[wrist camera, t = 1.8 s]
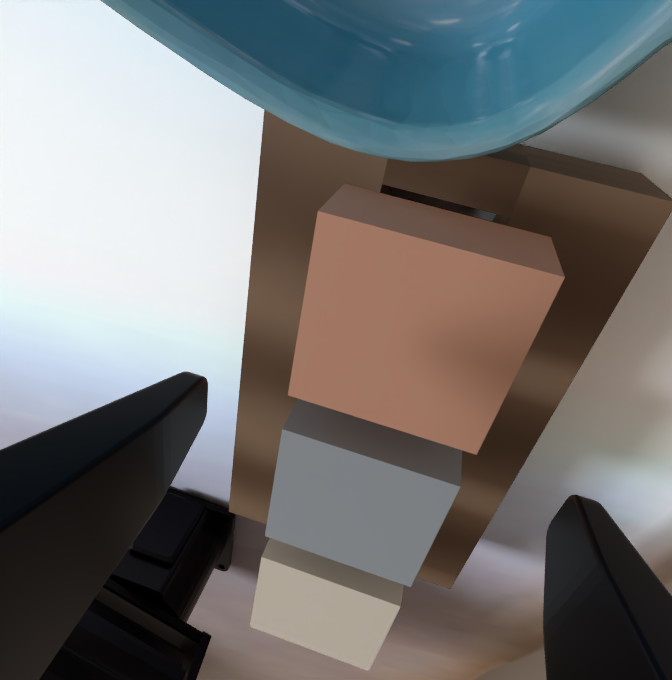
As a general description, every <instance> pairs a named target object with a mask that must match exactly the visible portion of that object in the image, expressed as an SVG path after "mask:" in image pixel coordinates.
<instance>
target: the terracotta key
mask: <svg viewBox="0 0 672 680" xmlns="http://www.w3.org/2000/svg"><path fill="white" fill-rule="evenodd" d="M564 278H565V276H564V273H563V270H562V268H561V265H560V262H559V259H558V256H557V253H556V251H555V248H554V245H553V242H552V239H551V237H548V236H544V235H540V234H537V233H533V232H529V231H525V230H521V229H517V228H513V227H510V226H506V225H502V224H498V223H494V222H490V221H487V220H483V219H479V218H475V217H471V216H467V215H464V214H460V213H456V212H452V211H448V210H444V209H440V208H437V207H433V206H429V205H425V204H421V203H417V202H414V201H410V200H406V199H402V198H398V197H394V196H391V195H387V194H383V193H379V192H375V191H371V190H368V189H364V188H360V187H356V186H352V185H348V184H343V185H342V186H341V188H340V189H339V190H338V191H337V192H336V193H335V194H334V195H333V196H332V197H331V198H330V199H329V200H328V201H327V202H326V203H325V204H324V205H323V206H322V207H321V208H320V209H319V210H318V213H317V219H316V225H315V231H314V238H313V244H312V250H311V256H310V262H309V268H308V274H307V280H306V287H305V293H304V299H303V305H302V311H301V317H300V323H299V329H298V335H297V342H296V348H295V354H294V360H293V366H292V372H291V378H290V384H289V390H288V395H289V396H292V397H295V398H298V399H301V400H304V401H308V402H311V403H314V404H317V405H320V406H323V407H327V408H330V409H333V410H336V411H339V412H342V413H346V414H349V415H352V416H355V417H358V418H361V419H365V420H368V421H371V422H374V423H377V424H380V425H384V426H387V427H390V428H393V429H396V430H399V431H403V432H406V433H409V434H412V435H415V436H418V437H422V438H425V439H428V440H431V441H434V442H437V443H441V444H444V445H447V446H450V447H453V448H456V449H460V450H463V451H466V452H469V453H472V454H475V455H477V453H478V451H479V449H480V447H481V445H482V443H483V441H484V439H485V437H486V435H487V433H488V431H489V429H490V427H491V425H492V423H493V421H494V419H495V417H496V415H497V413H498V411H499V409H500V407H501V405H502V403H503V401H504V399H505V397H506V395H507V393H508V391H509V389H510V387H511V385H512V383H513V381H514V379H515V377H516V375H517V373H518V371H519V369H520V367H521V365H522V363H523V361H524V359H525V357H526V355H527V353H528V351H529V349H530V347H531V345H532V343H533V341H534V339H535V337H536V335H537V333H538V331H539V329H540V326H541V324H542V322H543V320H544V318H545V316H546V314H547V312H548V310H549V308H550V306H551V304H552V302H553V300H554V298H555V296H556V294H557V292H558V290H559V288H560V286H561V284H562V282H563V280H564Z"/></svg>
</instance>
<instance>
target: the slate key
mask: <svg viewBox="0 0 672 680" xmlns="http://www.w3.org/2000/svg"><path fill="white" fill-rule="evenodd" d="M461 466H462V450H460V449H456V448H453V447H450V446H447V445H444V444H441V443H437V442H434V441H431V440H428V439H425V438H422V437H418V436H415V435H412V434H409V433H406V432H403V431H399V430H396V429H393V428H390V427H387V426H384V425H380V424H377V423H374V422H371V421H368V420H365V419H361V418H358V417H355V416H352V415H349V414H346V413H342V412H339V411H336V410H333V409H330V408H327V407H323V406H320V405H317V404H314V403H311V402H308V401H304V400H301V399H297V401H296V403H295V405H294V407H293V409H292V411H291V413H290V415H289V417H288V419H287V421H286V423H285V425H284V427H283V429H282V434H281V440H280V446H279V452H278V458H277V464H276V470H275V476H274V483H273V489H272V495H271V501H270V507H269V513H268V519H267V525H266V531H265V536H266V537H269V538H272V539H275V540H278V541H280V542H283V543H286V544H289V545H292V546H295V547H297V548H300V549H303V550H306V551H309V552H312V553H315V554H317V555H320V556H323V557H326V558H329V559H332V560H334V561H337V562H340V563H343V564H346V565H349V566H351V567H354V568H357V569H360V570H363V571H366V572H369V573H371V574H374V575H377V576H380V577H383V578H386V579H388V580H391V581H394V582H397V583H400V584H403V585H405V586H408V587H411V585H412V583H413V581H414V579H415V577H416V575H417V573H418V571H419V569H420V567H421V565H422V563H423V561H424V559H425V557H426V555H427V553H428V551H429V549H430V547H431V545H432V543H433V541H434V539H435V537H436V535H437V533H438V531H439V529H440V527H441V525H442V523H443V521H444V519H445V517H446V515H447V513H448V511H449V509H450V507H451V505H452V503H453V501H454V499H455V497H456V495H457V493H458V491H459V489H460V487H461Z"/></svg>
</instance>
